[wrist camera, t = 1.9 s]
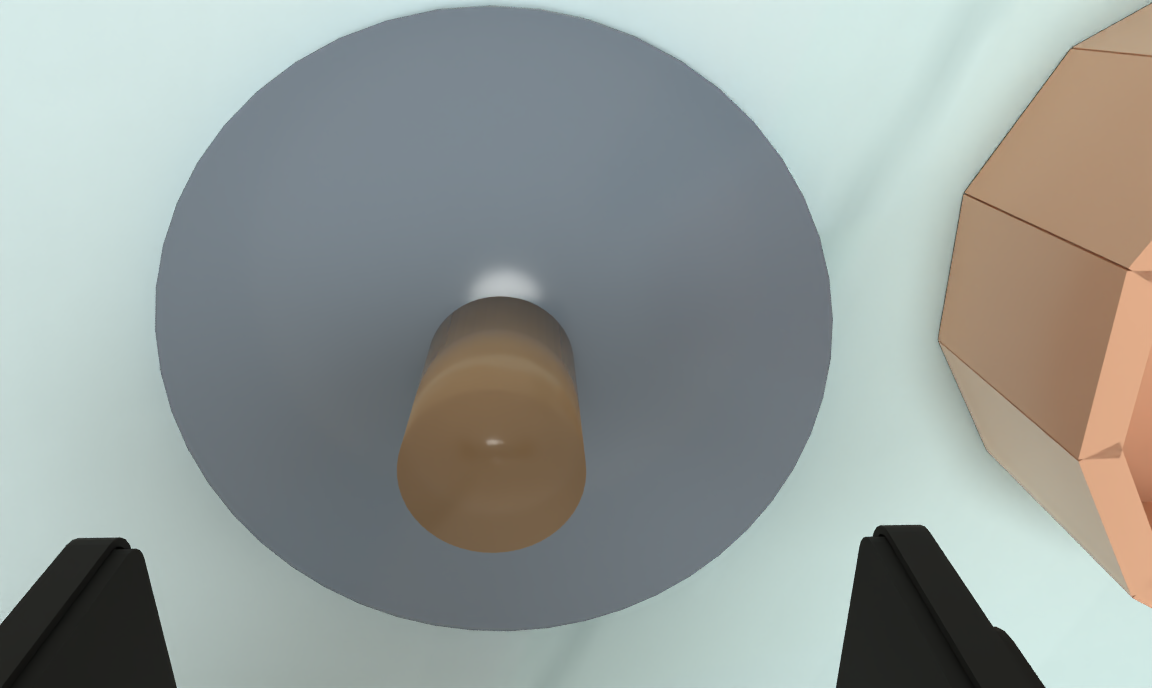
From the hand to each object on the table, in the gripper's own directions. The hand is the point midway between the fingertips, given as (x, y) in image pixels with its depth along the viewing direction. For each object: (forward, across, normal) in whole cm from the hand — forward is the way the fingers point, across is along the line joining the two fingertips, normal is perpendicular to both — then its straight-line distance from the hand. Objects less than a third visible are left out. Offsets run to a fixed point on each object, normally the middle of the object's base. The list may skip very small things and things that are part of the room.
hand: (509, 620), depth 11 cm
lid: (+11, +1, +1) cm, 11 cm away
